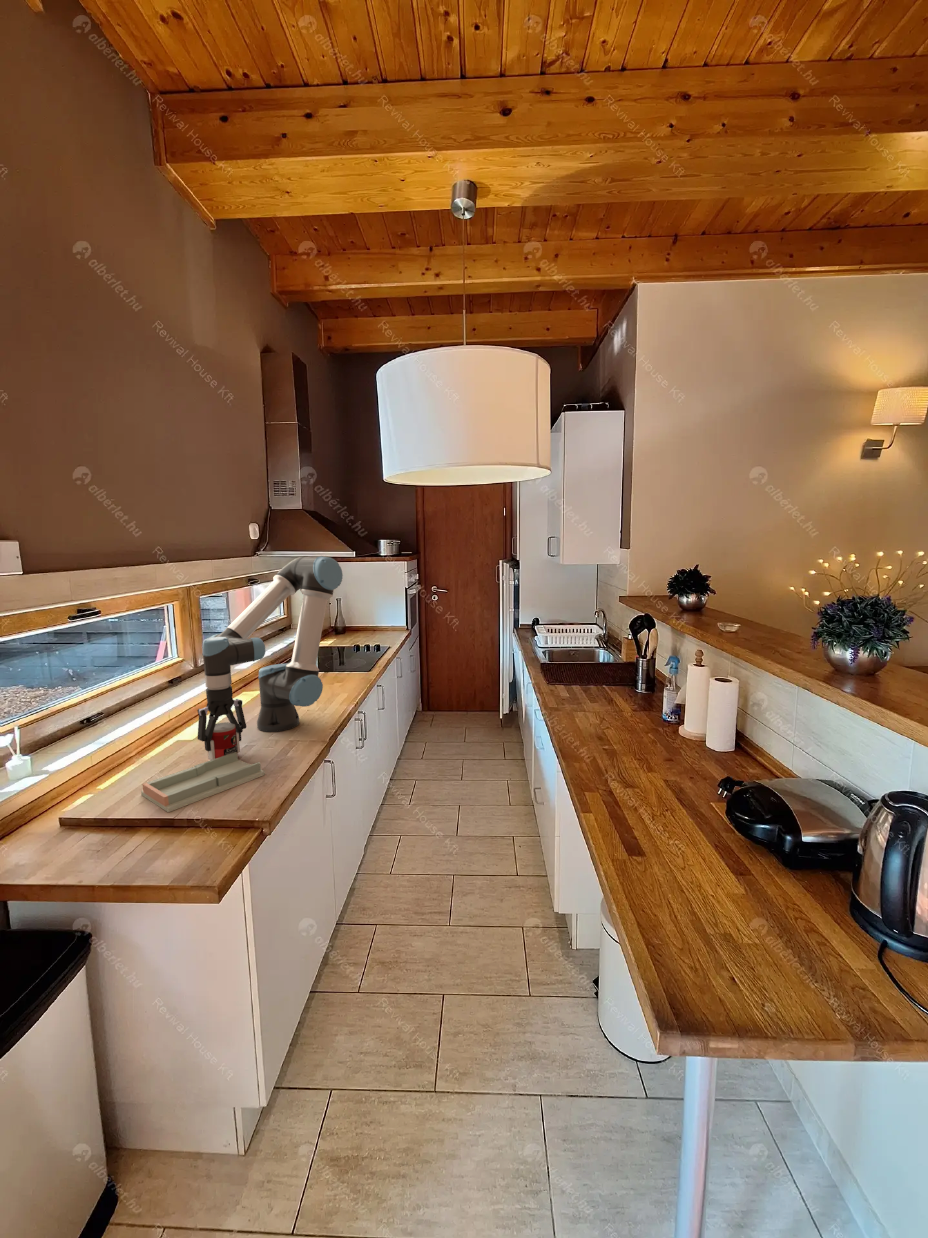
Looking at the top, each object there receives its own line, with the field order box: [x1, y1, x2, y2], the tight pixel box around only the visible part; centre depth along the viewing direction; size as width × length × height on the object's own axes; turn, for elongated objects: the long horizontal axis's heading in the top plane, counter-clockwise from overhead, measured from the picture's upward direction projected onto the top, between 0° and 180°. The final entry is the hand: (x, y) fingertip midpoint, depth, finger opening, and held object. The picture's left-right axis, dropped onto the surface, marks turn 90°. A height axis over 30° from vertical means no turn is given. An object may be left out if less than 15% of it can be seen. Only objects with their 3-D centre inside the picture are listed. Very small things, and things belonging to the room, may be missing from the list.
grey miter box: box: [140, 752, 266, 813], centre depth 158 cm, size 28×16×4 cm, turn 142°
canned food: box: [211, 721, 239, 759], centre depth 176 cm, size 8×8×11 cm
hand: (224, 755), depth 176 cm, fingers closed on canned food, 8 cm apart
